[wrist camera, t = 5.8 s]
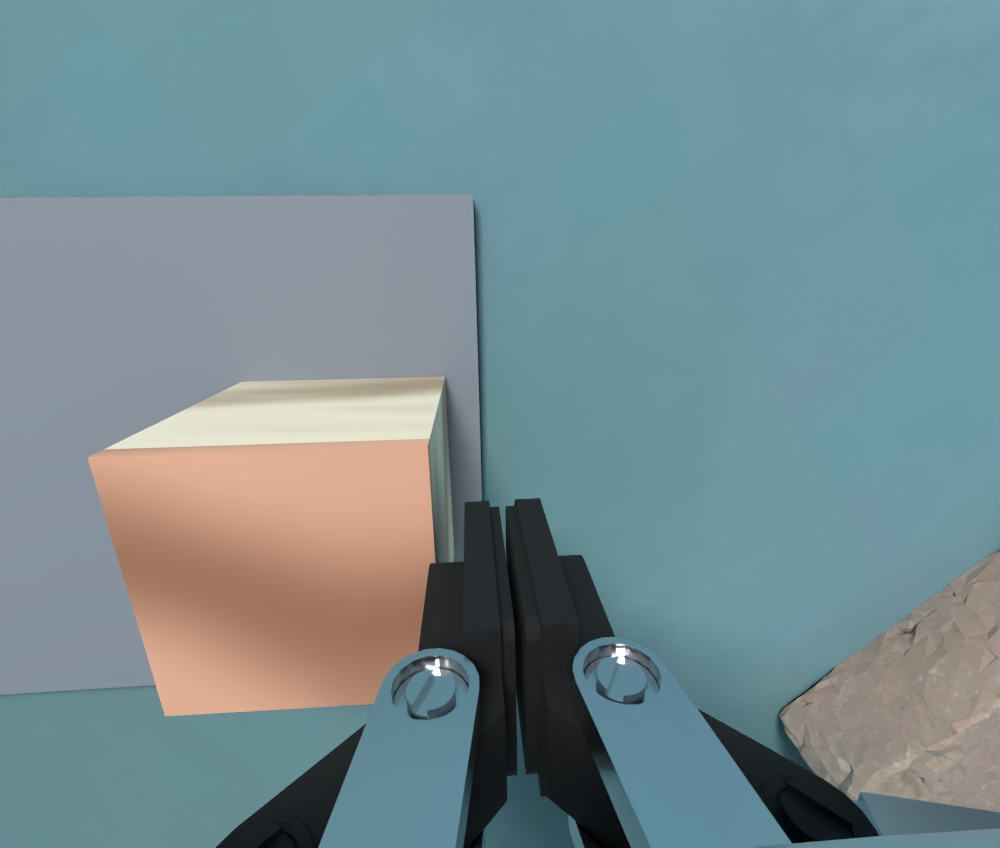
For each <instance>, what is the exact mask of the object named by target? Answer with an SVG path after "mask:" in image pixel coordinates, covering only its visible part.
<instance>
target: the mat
mask: <svg viewBox="0 0 1000 848" xmlns="http://www.w3.org/2000/svg"><path fill="white" fill-rule="evenodd" d="M440 376H445V381H446V400H447V419H448V439H449V458H450V478H451V497H452V516H453V536H454V560H453V562H462V561H464V504H465V502H475V501H482V478H481V445H480V411H479V378H478V344H477V311H476V277H475V244H474V210H473V194H453V195H317V196H180V197H44V198H0V695H7V694H22V693H38V692H53V691H69V690H84V689H100V688H116V687H131V686H147V685H156V684H155V681H154V677H153V674H152V671H151V667H150V664H149V661H148V657H147V654H146V651H145V647H144V644H143V641H142V637H141V634H140V631H139V627H138V624H137V621H136V618H135V614H134V611H133V608H132V604H131V601H130V598H129V594H128V591H127V588H126V584H125V581H124V578H123V574H122V571H121V568H120V564H119V561H118V558H117V554H116V551H115V548H114V544H113V541H112V538H111V534H110V531H109V528H108V524H107V521H106V518H105V514H104V511H103V508H102V505H101V501H100V498H99V495H98V491H97V488H96V485H95V481H94V478H93V475H92V471H91V468H90V465H89V461H88V458H87V457H89V456H91V455H93V454H95V453H97V452H100V451H102V450H104V449H106V448H108V447H110V446H112V445H114V444H116V443H118V442H120V441H122V440H124V439H126V438H128V437H130V436H132V435H134V434H136V433H138V432H140V431H142V430H144V429H146V428H148V427H151V426H153V425H155V424H157V423H159V422H161V421H163V420H165V419H167V418H169V417H171V416H173V415H175V414H177V413H179V412H181V411H183V410H185V409H187V408H189V407H191V406H193V405H195V404H197V403H199V402H201V401H204V400H206V399H208V398H210V397H212V396H214V395H216V394H218V393H220V392H222V391H224V390H226V389H228V388H230V387H232V386H234V385H236V384H238V383H240V382H254V381H291V380H328V379H365V378H403V377H440Z"/></svg>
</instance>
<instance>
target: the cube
mask: <svg viewBox="0 0 1000 848" xmlns="http://www.w3.org/2000/svg"><path fill="white" fill-rule="evenodd" d="M87 458H88V461H89V465H90V468H91V471H92V475H93V478H94V481H95V485H96V488H97V491H98V495H99V498H100V501H101V505H102V508H103V511H104V514H105V518H106V521H107V524H108V528H109V531H110V534H111V538H112V541H113V544H114V548H115V551H116V554H117V558H118V561H119V564H120V568H121V571H122V574H123V578H124V581H125V584H126V588H127V591H128V594H129V598H130V601H131V604H132V608H133V611H134V614H135V618H136V621H137V624H138V627H139V631H140V634H141V637H142V641H143V644H144V647H145V651H146V654H147V657H148V661H149V664H150V667H151V671H152V674H153V677H154V681H155V684H156V687H157V691H158V694H159V697H160V701H161V704H162V707H163V711H164V714H165V716H176V715H193V714H211V713H228V712H245V711H262V710H279V709H296V708H314V707H331V706H348V705H365V704H374V702H375V700H376V697H377V695H378V692H379V689H380V687H381V684H382V682H383V680H384V679H385V677H386V675H387V673H388V672H389V670H390V669H391V668H392V667H393V666H394V665H396V664H397V663H398V662H399V661H400V660H402V659H403V658H405V657H407V656H409V655H410V654H412V653H415V652H418V649H419V641H420V633H421V625H422V617H423V610H424V602H425V594H426V586H427V578H428V571H429V565H430V563H444V562H453V560H454V536H453V516H452V497H451V478H450V458H449V439H448V419H447V400H446V381H445V376H440V377H403V378H365V379H328V380H291V381H254V382H240V383H238V384H236V385H234V386H232V387H230V388H228V389H226V390H224V391H222V392H220V393H218V394H216V395H214V396H212V397H210V398H208V399H206V400H204V401H201V402H199V403H197V404H195V405H193V406H191V407H189V408H187V409H185V410H183V411H181V412H179V413H177V414H175V415H173V416H171V417H169V418H167V419H165V420H163V421H161V422H159V423H157V424H155V425H153V426H151V427H148V428H146V429H144V430H142V431H140V432H138V433H136V434H134V435H132V436H130V437H128V438H126V439H124V440H122V441H120V442H118V443H116V444H114V445H112V446H110V447H108V448H106V449H104V450H102V451H100V452H97V453H95V454H93V455H91V456H89V457H87Z"/></svg>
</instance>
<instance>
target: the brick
mask: <svg viewBox="0 0 1000 848" xmlns="http://www.w3.org/2000/svg"><path fill="white" fill-rule="evenodd" d="M779 717H780V719H781V721H782V723H783V724H784V728H785V732H786V733H787V735H788V736H789V738H790V739H791V741H792V742H793V743H794V745H795V746H796V747H797V748H798V750H799V753H800V755H801V756H802V758H803V759H804V760H805V762H806V763H807V764H808V766H809V767H810V768H811V770H812V771H813V772H814V773H815V775H817V776H819V777H821V778H823V779H824V780H826V781H827V782H829V783H830V784H832V785H833V786H834V787H836V788H837V789H839V790H840V791H842V792H843V793H844V794H845V795H846V796H848V797H849V798H850V799H852V800H858V797H859V794H860V791H861V792H868V793H874V794H881V795H887V796H894V797H901V798H907V799H914V800H921V801H927V802H934V803H941V804H947V805H954V806H961V807H967V808H974V809H980V810H987V811H994V812H1000V551H998V552H996V553H993V554H991V555H989V556H988V557H986V558H985V559H984V560H982V561H981V562H979V563H978V564H977V565H975V566H974V567H972V568H971V569H970V570H968V571H967V572H966V573H964V574H963V575H961V576H960V577H958V578H956V579H955V580H954V581H952V582H951V583H949V584H948V585H947V586H946V587H945V588H944V589H943V590H942V591H941V592H940V593H938V594H937V595H935V596H933V597H931V598H930V599H929V600H927V601H926V602H924V603H923V604H922V605H921V606H920V607H918V608H917V609H916V610H914V611H913V612H912V613H911V614H910V615H908V616H907V617H906V618H905V619H903V620H901V621H900V622H898V623H896V624H895V625H894V626H892V627H891V628H890V629H888V630H887V631H885V632H884V633H883V634H881V635H880V636H878V637H877V638H876V639H875V640H874V641H872V642H871V643H870V644H869V645H867V646H866V647H865V648H864V649H863V650H862V651H859V652H857V653H856V654H854V655H852V656H850V657H849V658H847V659H846V660H844V661H843V662H842V663H840V664H839V665H837V666H836V667H835V668H834V669H833V670H832V672H831V673H829V674H828V675H826V676H825V677H823V678H822V679H821V681H820V682H819V683H818V684H817V685H815V686H814V687H813V688H811V689H810V690H808V691H807V692H806V693H805V694H804V695H802V696H800V697H799V698H797V699H796V700H795V701H793V702H792V703H790V704H789V705H787V706H786V707H784V708H783V710H782V711H781V712H780V714H779Z"/></svg>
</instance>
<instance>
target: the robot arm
mask: <svg viewBox="0 0 1000 848" xmlns="http://www.w3.org/2000/svg"><path fill="white" fill-rule="evenodd" d="M506 557H507V564H506ZM516 693H517V701H518V710H519V719H520V727H521V736H522V744H523V753H524V762H525V770H526V774H535V773H538V779H539V786H540V793H541V797H543V796H547V797H548V798H549V799H550V800H551V801H553V802H554V803H555V804H556V805H557V806H559V807H560V808H561V809H562V810H563V811H565V812H566V813H567V814H568V824H569V829H570V834H571V838H572V841H573V844H574V847H575V848H1000V812H994V811H987V810H980V809H974V808H967V807H961V806H954V805H947V804H941V803H934V802H927V801H921V800H914V799H907V798H901V797H894V796H887V795H881V794H874V793H868V792H861V791H860V794H859V797H858V800H852V799H850V798H849V797H848V796H846V795H845V794H844V793H843V792H842V791H840V790H839V789H837V788H836V787H834V786H833V785H832V784H830V783H829V782H827V781H826V780H824V779H823V778H821V777H819V776H817V775H815V774H814V773H812V772H810V771H808V770H806V769H805V768H803V767H801V766H799V765H797V764H796V763H794V762H792V761H790V760H788V759H787V758H785V757H783V756H781V755H779V754H778V753H776V752H774V751H772V750H771V749H769V748H767V747H765V746H763V745H762V744H760V743H758V742H756V741H754V740H753V739H751V738H749V737H747V736H745V735H744V734H742V733H740V732H738V731H736V730H735V729H733V728H731V727H729V726H727V725H726V724H724V723H722V722H720V721H718V720H717V719H715V718H713V717H711V716H709V715H708V714H706V713H704V712H702V711H701V710H699V709H697V707H696V706H695V705H694V703H693V702H692V700H691V699H690V697H689V696H688V695H687V693H686V692H685V690H684V689H683V687H682V686H681V685H680V683H679V682H678V680H677V679H676V677H675V676H674V675H673V673H672V672H671V670H670V669H669V667H668V666H667V665H666V663H665V662H664V661H663V660H662V659H661V658H660V657H659V656H658V655H657V653H656V652H654V651H653V650H651V649H650V648H648V647H646V646H645V645H643V644H641V643H638V642H636V641H633V640H631V639H626V638H620V637H615V636H614V633H613V631H612V628H611V626H610V623H609V621H608V618H607V616H606V613H605V611H604V608H603V606H602V603H601V601H600V598H599V596H598V593H597V591H596V588H595V586H594V583H593V581H592V578H591V576H590V573H589V571H588V568H587V566H586V563H585V561H584V559H583V557H582V556H581V555H569V556H558V554H557V551H556V548H555V545H554V542H553V538H552V535H551V532H550V529H549V526H548V523H547V520H546V516H545V513H544V510H543V507H542V504H541V501H540V498H535V499H515V505H514V506H506V556H505V549H504V541H503V534H502V526H501V519H500V511H499V507H489V501H475V502H465V504H464V561H462V562H444V563H430V565H429V571H428V578H427V586H426V594H425V602H424V610H423V617H422V625H421V633H420V641H419V649H418V652H415V653H412V654H410V655H409V656H407V657H405V658H403V659H402V660H400V661H399V662H398V663H397V664H396V665H394V666H393V667H392V668H391V669H390V670H389V672H388V673H387V675H386V677H385V679H384V680H383V682H382V684H381V687H380V689H379V692H378V695H377V697H376V700H375V702H374V705H373V707H372V710H371V713H370V715H369V718H368V720H367V723H366V724H365V725H364V726H363V727H361V728H360V729H359V730H358V731H356V732H355V733H354V734H353V735H351V736H350V737H349V738H348V739H346V740H345V741H344V742H343V743H341V744H340V745H339V746H338V747H336V748H335V749H334V750H333V751H331V752H330V753H329V754H328V755H326V756H325V757H324V758H323V759H321V760H320V761H319V762H318V763H316V764H315V765H314V766H313V767H311V768H310V769H309V770H308V771H306V772H305V773H304V774H303V775H301V776H300V777H299V778H298V779H296V780H295V781H294V782H293V783H291V784H290V785H289V786H288V787H286V788H285V789H284V790H283V791H282V792H280V793H279V794H278V795H277V796H275V797H274V798H273V799H272V800H270V801H269V802H268V803H267V804H265V805H264V806H263V807H262V808H260V809H259V810H258V811H257V812H255V813H254V814H253V815H252V816H250V817H249V818H248V819H247V820H245V821H244V822H243V823H242V824H240V825H239V826H238V827H237V828H235V829H234V830H233V831H232V832H231V833H230V834H229V835H228V836H227V837H226V838H225V839H224V840H223V841H222V842H221V843H220V844H219V845H218V846H217V847H216V848H486V826H487V825H488V823H489V822H490V821H491V820H492V818H493V817H494V816H495V815H496V813H497V812H498V811H499V810H500V809H501V807H502V806H503V805H504V804H505V802H506V801H507V776H511V775H517V730H516Z"/></svg>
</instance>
